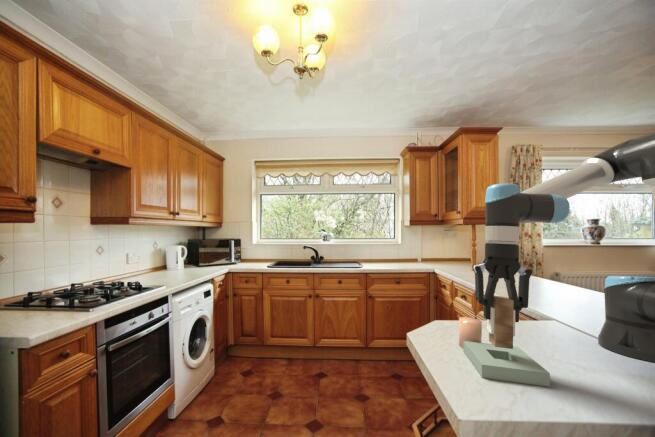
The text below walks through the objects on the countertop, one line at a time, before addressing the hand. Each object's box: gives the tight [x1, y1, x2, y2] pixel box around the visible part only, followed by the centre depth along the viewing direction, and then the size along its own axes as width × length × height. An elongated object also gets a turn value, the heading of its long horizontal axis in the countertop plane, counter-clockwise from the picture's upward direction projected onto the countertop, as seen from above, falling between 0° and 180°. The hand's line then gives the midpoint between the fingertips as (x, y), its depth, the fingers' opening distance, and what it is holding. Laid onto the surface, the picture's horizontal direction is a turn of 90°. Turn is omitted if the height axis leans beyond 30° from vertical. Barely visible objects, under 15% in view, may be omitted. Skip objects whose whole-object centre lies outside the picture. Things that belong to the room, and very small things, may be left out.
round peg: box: [458, 316, 483, 350], centre depth 79 cm, size 6×6×8 cm
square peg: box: [488, 295, 514, 349], centre depth 68 cm, size 4×4×12 cm
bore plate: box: [463, 341, 551, 388], centre depth 67 cm, size 14×14×3 cm
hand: (500, 332), depth 68 cm, fingers closed on square peg, 4 cm apart
